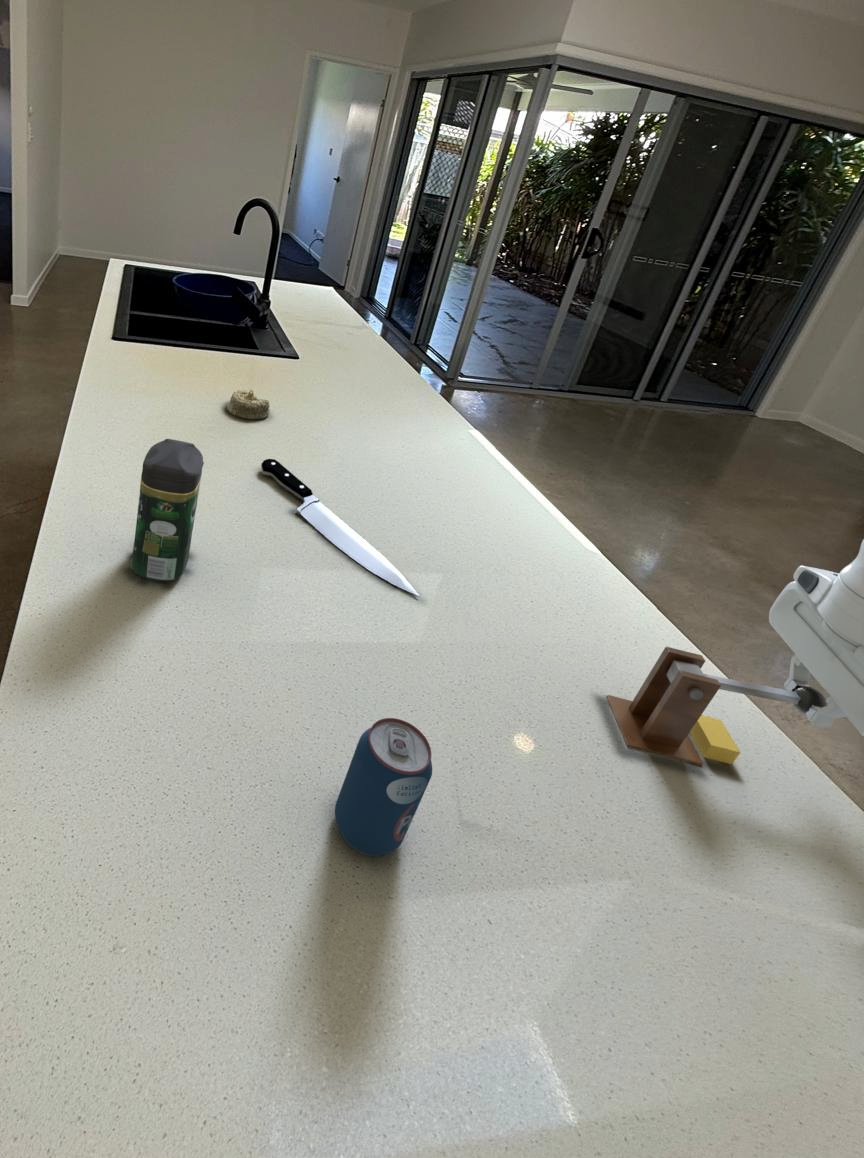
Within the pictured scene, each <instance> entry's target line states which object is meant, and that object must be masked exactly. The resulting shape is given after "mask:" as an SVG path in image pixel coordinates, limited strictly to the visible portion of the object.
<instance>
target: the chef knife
mask: <svg viewBox="0 0 864 1158" xmlns="http://www.w3.org/2000/svg"><path fill="white" fill-rule="evenodd" d="M260 469H261V474H262V475H264V476H267V477H270V478H272V479H274V480H275V481H276V482H277V484H279V485H280V487H282V488H283V489H285V490H286V491H287V492H289V493H290V494H291V495H293V496H294V497H295V498H296V499H298V500H299V501H300V502H302V504H301V505H300V506H299V507H297V508H296V509H295V510H296V511H295V512H296V514H297V515H298V516H301V517H302V518H303V519H304V520H305V521H306V522H308V523H309V524H310V525H311V526H312V527H314V529H316V530H317V531H318V532H319V533H320V534H321V535H323V537H325V538H326V540H328V541H330V542H331V543H332V544H333V545H334V546H335V547H337V549H340V550H341V551H342V552H343V553H344V554H346V555H347V556H348V557H349V558H351V559H352V560H354V561H355V562H357V563H358V564H359V565H360V566H362V567H364V568H365V569H366V570H368V571H369V572H371V573H372V574H374V575H376V576H378V577H379V578H381V579H383V580H384V581H386V582H388V583H389V584H391V585H393V586H395V587H397V588H400V589H402V590H403V591H406V592H408V593H410V594H413V595H416V596H419V597H420V594H419V593H418V592H417V590H415V588H414V587H413V586H412V584H411V583H410V582H409V581H408V579H407V578H406V577H405V576H404V574H402V572H400V570H398V568H396V566H394V565H393V564H392V563H391V561H389V559H388V558H386V557H385V556H384V555H383V554H382V553H381V552H379V551H378V550H377V549H376V548H375V547H374V546H373V545H372V544H370V543H369V542H367V540H365V539H364V538H363V537H362V536H361V535H360V534H358V533H357V532H356V530H354V529H353V528H351V527H350V526H349V525H348V524H347V523H345V521H343V520H342V519H341V518H340V517H339V516H337V515H336V514H335V513H334V512H332V511H331V510H330V509H329V508H328V507H327V506H325V505H324V504H323V502H321V501H320V499H319V498H318V497H317V496H315V495H314V493H313V491H312V489H311V488H309V486H308V485H306V484H305V483H303V481H301V480H300V479H299V478H298V477H297V476H296V475H295V474H294V473H292V472H291V471H290V470H288V469H287V468H286V467H285V466H284V465H282V463H281V462H279V461H278V460H276V459H275V458H266V459H264V460H263V461H261V463H260Z"/></svg>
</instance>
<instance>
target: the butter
mask: <svg viewBox="0 0 864 1158" xmlns="http://www.w3.org/2000/svg"><path fill="white" fill-rule="evenodd" d="M689 734H690V736H691V737H692V740H693V741H694V743H695V745H696V747H697V749H698V751H699V753H700V755H701V756H702V757H703V758H706V759H709V760H714V761H717V762H720V763H724V764H728V765H733V763H735V761H736V759H737V758H738V757H739V755H740V754H741V751H740V749H739V748H738V746H737V744H736V743H735V741H734V739H733V738H732V736H731V734H730V733H729V731H728V729H727V728H726V726H725V723H724V722H723V721H722V720H721V719H719V718H714V717H711V716H707V715H703V714H702V715H701V716H700V718H699V719H698V721H697V722H696V724H695V725H694V726H693V728H692V729H691V731H690V732H689Z"/></svg>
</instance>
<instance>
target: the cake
mask: <svg viewBox="0 0 864 1158" xmlns="http://www.w3.org/2000/svg"><path fill="white" fill-rule="evenodd" d="M270 407H271V406H270V400H269V399H268V398H264V397H262V398H257V396H256V395H255V393H254V390H253V389H251V390H249V389H238V390H236V391H233V393H232V395H231V397H230V400H229V403H228V404H227V405H226V409H227V411H228V412H229V413H230V414H232V415H234V416H235V417H238V418H241V419H247V420H261V419H264V418H267V417H269V416H270V413H271V411H270V410H271V409H270Z"/></svg>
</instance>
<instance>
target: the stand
mask: <svg viewBox="0 0 864 1158" xmlns="http://www.w3.org/2000/svg"><path fill="white" fill-rule="evenodd" d="M674 660H675V661H680V662H686V663H691V664H696V665H698V666H699V668H700V669H701V670H702V668H703V666H704V664H705V663H706V659H705V658H704V656H703V654H698V653H694V652H690V651H686V650H681V649H678V648H674V647H670V646H665V647H664V649H663V650H662V652H661V653H660V655H659V656H658V659H657V660H656V661H655V664H654V665H653V667H652V669H650V671H649V674H648V675H647V677H646V678H645V680H644V682H643V683H642V685H641V687H640V688H639V690H638V692H637V693H636V695H635V696H634V698H633V700H629V699H626V698H621V697H617V696H614V695H611V694H606V695H605V698H606V700H607V702H608V705H609V708H610V709H611V712H612V714H613V717H614V719H615V721H616V724H617V726H618V728H619V732H620V734H621V736H622V738H623V741H624V743H625V746H626V747H628V748H632V749H637V750H641V751H644V752H648V753H651V754H655V755H660V756H663V757H667V758H671V759H674V760H679V761H683V762H687V763H690V764H694V765H699V766H703V765H704V762H703V761H702V759H701V757H700V755H699V754H698V751H697V750H696V747H695V746H694V744H693V741H692V740H691V738H690V736H689V734H690V731H691V729H692V728H693V726H694V725H695V724H696V722H697V721H698V719H699V718H700V716H701V715H703V713H704V712H705V710H706V709H707V707H708V706H709V704H710V703H711V701H712V700H713V699H714V697H715V696H716V694H717V693H718V691H719V690H720V689H719V688H720V687H721V684H720V683H719V681H718V680H717V679H713V678H709V677H705V676H701V675H697V674H693V673H689V672H685V671H681V670H679V672H678V673H677V675H676V676H675V678H674V679H673V681H672V683H671V682H670V681H669V679H668V677H667V675H666V674H667V673H668V671H669V669H670V667H671V665H672V663H673V661H674Z"/></svg>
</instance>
